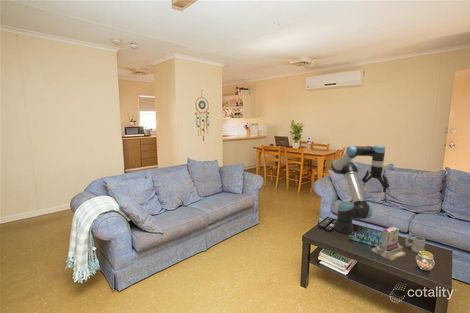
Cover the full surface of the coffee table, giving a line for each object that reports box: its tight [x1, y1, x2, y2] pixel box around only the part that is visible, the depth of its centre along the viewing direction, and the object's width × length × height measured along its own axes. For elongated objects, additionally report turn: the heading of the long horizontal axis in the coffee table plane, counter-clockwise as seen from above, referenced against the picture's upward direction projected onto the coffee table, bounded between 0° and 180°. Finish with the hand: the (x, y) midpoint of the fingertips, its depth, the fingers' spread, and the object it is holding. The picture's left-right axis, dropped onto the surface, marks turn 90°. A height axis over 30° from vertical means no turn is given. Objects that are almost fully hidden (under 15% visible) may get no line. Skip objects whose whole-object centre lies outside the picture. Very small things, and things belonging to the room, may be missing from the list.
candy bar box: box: [380, 225, 400, 252], centre depth 171 cm, size 11×5×16 cm, turn 116°
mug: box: [404, 232, 426, 254], centre depth 176 cm, size 8×12×12 cm, turn 46°
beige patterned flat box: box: [371, 244, 407, 262], centre depth 172 cm, size 14×17×4 cm
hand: (373, 193), depth 187 cm, fingers open, 13 cm apart
